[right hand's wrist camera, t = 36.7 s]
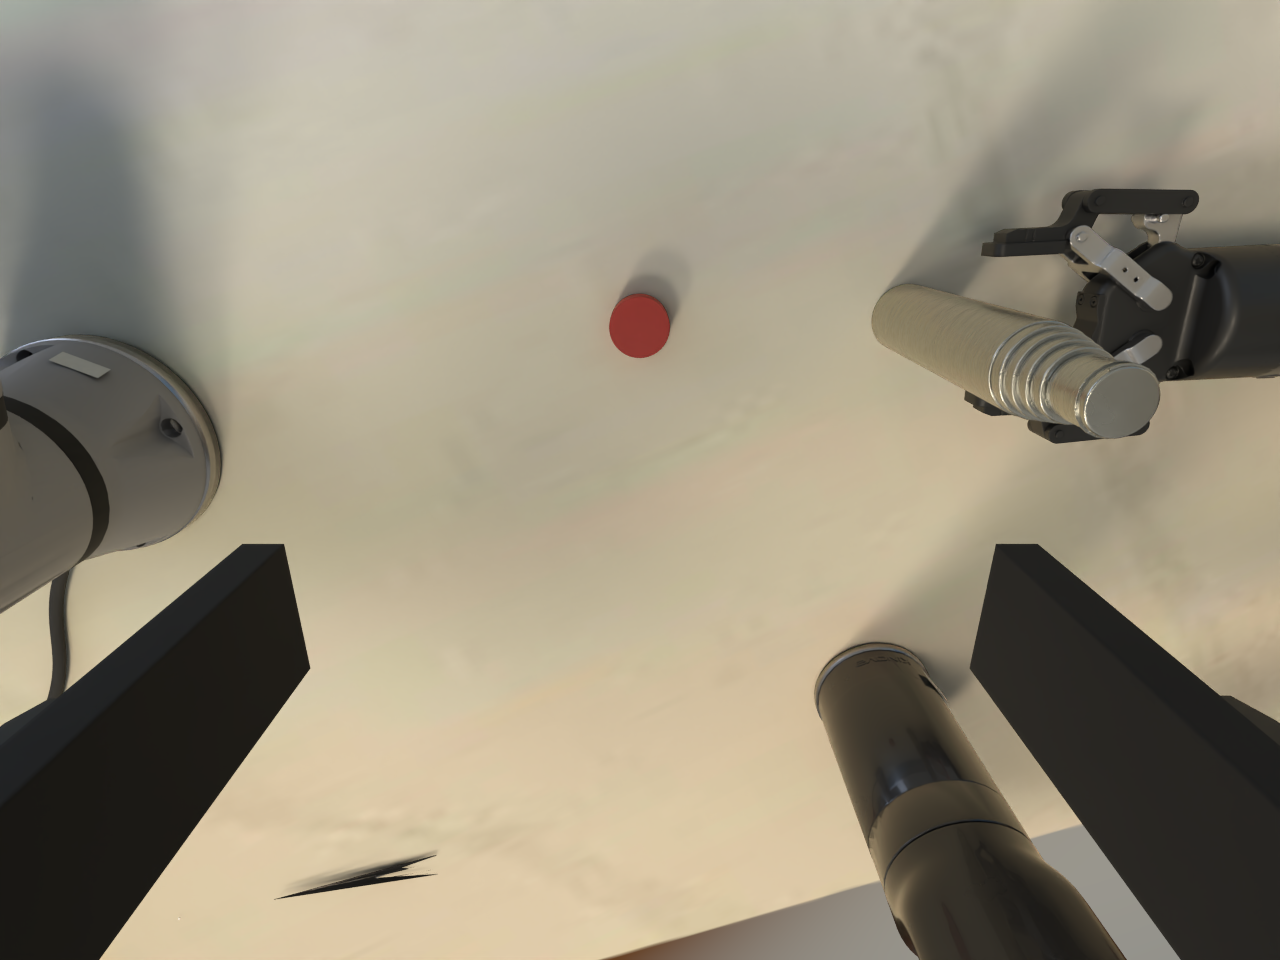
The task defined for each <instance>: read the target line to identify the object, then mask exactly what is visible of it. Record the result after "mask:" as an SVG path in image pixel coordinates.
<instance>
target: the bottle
mask: <svg viewBox="0 0 1280 960" xmlns="http://www.w3.org/2000/svg"><path fill="white" fill-rule="evenodd" d="M872 329H873V332H874V335H875V337H876V338H877V340H878V341H879V342H880V343H881V344H882V345H884V346H885V347H887V348H889V349H891V350H893V351H894V352H896V353H898V354H900V355H902V356H904V357H905V358H907V359H909V360H911V361H913V362H915V363H917V364H918V365H920V366H922V367H924V368H926V369H928V370H929V371H931V372H933V373H935V374H937V375H939V376H940V377H942V378H944V379H946V380H948V381H950V382H952V383H953V384H955V385H957V386H959V387H961V388H963V389H964V390H966V391H968V392H970V393H972V394H974V395H975V396H977V397H979V398H981V399H983V400H985V401H987V402H988V403H990V404H992V405H994V406H996V407H998V408H999V409H1001V410H1003V411H1005V412H1007V413H1009V414H1011V415H1014V416H1018V417H1021V418H1023V419H1027V420H1035V421H1041V422H1050V423H1057V424H1058V423H1060V424H1064V425H1076V426H1078V427H1080V428H1081V429H1082V430H1083V431H1084V432H1086V433H1088V434H1090V435H1092V436H1094V437H1096V438H1103V439H1115V438H1122V437H1125V436H1128V435H1131V434H1133V433H1135V432H1136V431H1138V430H1139V429H1141V428H1142V427H1143V426H1145V425H1146V424H1147V423H1148V422H1149V420H1150V419H1151V418H1152V416H1153V415H1154V413H1155V411H1156V409H1157V407H1158V404H1159V400H1160V388H1159V382H1158V380H1157V378H1156V375H1155V374H1154V373H1153V372H1152V371H1151V370H1150V369H1149V368H1147V367H1145V366H1143V365H1141V364H1136V363H1134V362H1130V361H1124V360H1120V361H1119V360H1115V358H1114V357H1113V356H1112V355H1111V354H1110V353H1108V352H1107V351H1105V350H1104V349H1103V348H1102V347H1101V346H1100V345H1098V344H1096V343H1095V342H1094V341H1093V340H1092V339H1090V338H1089V337H1087V336H1086V335H1085V334H1084V333H1082V332H1081V331H1079V330H1078V329H1076V328H1073V327H1071V326H1069V325H1067V324H1065V323H1062V322H1059V321H1055V320H1051V319H1047V318H1044V317H1040V316H1036V315H1032V314H1028V313H1024V312H1020V311H1016V310H1013V309H1009V308H1005V307H1001V306H997V305H993V304H989V303H985V302H982V301H978V300H974V299H970V298H966V297H962V296H958V295H954V294H951V293H947V292H943V291H939V290H935V289H931V288H927V287H923V286H920V285H915V284H903V285H899V286H896V287H894V288H892V289H891V290H889V291H888V292H886V293H885V294H884V295H883V296H882V297H881V298H880V300H879V301H878V303H877V304H876V306H875V308H874V311H873V315H872Z"/></svg>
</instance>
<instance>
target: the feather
mask: <svg viewBox="0 0 1280 960" xmlns="http://www.w3.org/2000/svg"><path fill="white" fill-rule="evenodd" d="M434 856H436V855H434ZM430 857H433V856H430ZM430 857H427V858H423V859H419V860H416V861H412V862H409V863H405V864H401V865H398V866H394V867H390V868H387V869H383V870H379V871H376V872H372V873H368V874H365V875H361V876H358V877H354V878H350V879H347V880H343V881H339V882H336V883H332V884H328V885H325V886H321V887H317V888H314V889H310V890H307V891H303V892H299V893H296V894H292V895H288V896H285V897H281V898H287V897H293V896H300V895H306V894H313V893H319V892H326V891H332V890H339V889H345V888H352V887H358V886H365V885H371V884H378V883H384V882H391V881H398V880H404V879H411V878H417V877H424V876H430V875H423V874H422V875H415V876H402V875H400V876H399V877H397V876H394V877H383V878H377V877H380V876H383V875H385V874H389V873H393V872H398V871H402V870H406V869H408V868H402V867H405V866H408V865H410V864H413V863H416V862H419V861H422V860H425V859H428V858H430ZM411 868H412V867H411ZM428 871H429V870H428ZM412 874H413V873H412ZM428 874H429V873H428ZM406 875H407V874H406ZM432 875H436V874H432ZM277 899H280V898H277ZM274 900H275V899H274ZM180 919H181V918H180V917H179V918H178V920H180Z"/></svg>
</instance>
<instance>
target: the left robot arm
mask: <svg viewBox="0 0 1280 960" xmlns="http://www.w3.org/2000/svg"><path fill="white" fill-rule="evenodd" d="M1198 202H1199V196H1198V194H1197V192H1195V191H1193V190H1152V189H1094V190H1091V191H1084V190H1079V191H1071V192H1069V193H1067V194H1066V195H1065V197H1064V198H1063V200H1062V209H1063V211H1062V213H1061V215H1060V217H1059V219H1058V220H1057V221H1056V222H1055V223H1054V224H1052V225H1051V226H1048V227H1036V228H1016V229H1003V230H1001V231H999V232H996V233H994V241H993V242H988V243H983V245H982V253H981V256H991V257H1008V256H1028V255H1047V254H1059V255H1061V256H1062V257H1063V258H1064V259H1065V260H1067V261H1068V266H1069V267H1070V268H1072V269H1073V270H1074V271H1075V272H1076V273H1077V274H1079V275H1080V276H1081V277H1082V278H1083V279H1084V280H1086V281H1087V282H1088V283H1087V285H1086V286H1085V288H1084V289H1083V292H1078V295H1077V301H1076V313H1077V319H1076V322H1075V324H1074V326H1073V328H1076V329H1078V330H1079V331H1081V332H1082V333H1084V334H1085V335H1086V336H1087V337H1089V338H1090V339H1092V340H1093V341H1094V342H1095V343H1096V344H1098V345H1100V346H1101V347H1102V348H1103V349H1104V350H1105V351H1107V352H1108V353H1110V354H1111V355H1112V356H1113V357H1114V358H1115V360H1119V361H1120V360H1124V361H1130V362H1134V363H1136V364H1141V365H1143V366H1145V367H1147V368H1149V369H1150V370H1151V371H1152V372H1153V373H1154V374H1155V375H1156V378H1157V380H1158V382H1162V381H1179V380H1200V379H1221V378H1240V377H1254V378H1275V377H1277V376H1280V244H1269V245H1247V246H1228V247H1208V248H1188V249H1186V248H1183V247H1181V246H1180V245H1178V244H1177V243H1175V240H1176V237H1177V233H1178V229H1179V226H1180V222H1181V218H1182V215H1183V214H1188V213H1190V212H1192V211H1193V210H1194V209H1195V208H1196V207H1197V205H1198ZM1098 214H1134V215H1133V216H1132V217H1131V221H1132V222H1133V224H1134V226H1135V227H1136V228H1137V229H1141V230H1144V231H1145V232H1146V233H1147V235H1148V242H1145V243H1143V244H1141V245H1139V246H1138V247H1136V248H1135V249H1133V250H1132V251H1130V252H1129V253H1128V254H1125V253H1124V252H1123V251H1122V250H1120V249H1118V248H1116V247H1113V246H1111V245H1110V244H1108V243H1107V242H1106V241H1105V240H1104V239H1103V238H1101V237H1100V236H1099V235H1098V234H1097V233H1096V232H1095V231H1093V230H1092V229H1091V228H1092V226H1093V224H1094V222H1095V220H1096V218H1097V216H1098ZM964 400H965V401H967V402H969V403H971V404H973V407H974V408H975V409H977V410H979V411H981V412H983V413H985V414H988V415H990V416H1000V415H1011V414H1009V413H1007V412H1005V411H1003V410H1001V409H999V408H998V407H996V406H994V405H992V404H990V403H988V402H987V401H985V400H983V399H981V398H979V397H977V396H975V395H974V394H972V393H970V392H968V391H966V390H965V398H964ZM1149 424H1150V423H1149V422H1148V423H1147V424H1146V425H1145V426H1143V427H1142V428H1141V429H1139V430H1138V431H1136V432H1135V433H1133V434H1131V435H1128V436H1135V435H1141V434H1143V433H1144V432H1146V430H1147V429H1148V427H1149ZM1028 429H1029V430H1030V431H1032V432H1034V433H1036V434H1037V435H1039V436H1041V437H1043V438H1045V439H1047V440H1049V441H1051V442H1052V443H1056V444H1057V443H1067V442H1077V441H1087V440H1096V439H1103V438H1096V437H1094V436H1092V435H1090V434H1088V433H1086V432H1084V431H1083V430H1082V429H1081V428H1080V427H1078V426H1076V425H1064V424H1060V423H1058V424H1057V423H1050V422H1041V421H1035V420H1029V421H1028ZM938 691H939V692H940V693H941V695H942V696H943V697H944V698H945V696H944V695H943V693H942V692H941V690H940V689H939V688H938V687H937V686H936V685H935V684H934V682H933V681H932V680H931V679H930V677H929V674H928V672H927V671H926V669H925V667H924V666H923V664H922V663H921V661H920V660H919V659H918V658H917V657H916V656H915V655H913V654H912V653H911V652H909V651H907V650H905V649H903V648H901V647H898V646H894V645H890V644H867V645H862V646H858V647H855V648H852V649H850V650H848V651H846V652H844V653H842V654H840V655H839V656H837V657H836V658H835V659H833V660H832V661H831V662H830V663H829V664H828V665H827V666H826V667H825V669H824V670H823V671H822V673H821V674H820V676H819V678H818V680H817V683H816V687H815V693H814V698H815V704H816V708H817V711H818V713H819V716H820V718H821V720H822V721H823V724H824V726H825V729H826V732H827V735H828V738H829V741H830V744H831V746H832V749H833V752H834V755H835V757H836V760H837V763H838V766H839V768H840V771H841V774H842V777H843V779H844V782H845V785H846V788H847V790H848V793H849V796H850V799H851V802H852V804H853V807H854V810H855V813H856V815H857V818H858V821H859V824H860V826H861V829H862V832H863V835H864V837H865V840H866V843H867V846H868V848H869V851H870V854H871V857H872V859H873V862H874V864H875V867H876V870H877V873H878V875H879V878H880V881H881V884H882V886H883V889H884V892H885V895H886V898H887V901H888V904H889V907H890V910H891V912H892V915H893V918H894V921H895V924H896V926H897V929H898V931H899V934H900V936H901V938H902V939H903V941H904V942H905V944H906V945H907V946H908V948H909V949H910V950H911V951H912V952H913V953H914V954H915V955H916V956H918V958H919V960H1127V959H1126V958H1125V957H1124V955H1123V954H1122V952H1121V951H1120V949H1119V948H1118V946H1117V945H1116V944H1115V942H1114V941H1113V939H1112V938H1111V937H1110V935H1109V934H1108V932H1107V931H1106V929H1105V928H1104V927H1103V925H1102V924H1101V922H1100V921H1099V919H1098V918H1097V917H1096V915H1095V914H1094V912H1093V911H1092V909H1091V908H1090V906H1089V905H1088V904H1087V902H1086V901H1085V900H1084V898H1083V897H1082V896H1081V895H1080V893H1079V892H1078V891H1077V890H1076V888H1075V887H1074V886H1073V885H1072V884H1071V883H1070V882H1069V881H1068V880H1067V879H1066V878H1065V877H1064V876H1063V875H1061V874H1060V873H1059V872H1058V871H1057V870H1055V869H1054V868H1052V867H1051V866H1050V865H1048V864H1047V863H1046V862H1045V861H1044V860H1043V858H1042V857H1041V855H1040V854H1039V852H1038V851H1037V849H1036V848H1035V846H1034V845H1033V843H1032V842H1031V840H1030V838H1029V837H1028V835H1027V833H1026V832H1025V830H1024V829H1023V827H1022V825H1021V824H1020V822H1019V821H1018V819H1017V817H1016V816H1015V814H1014V813H1013V811H1012V809H1011V808H1010V806H1009V805H1008V803H1007V802H1006V800H1005V799H1004V797H1003V795H1002V794H1001V792H1000V791H999V789H998V787H997V786H996V784H995V782H994V781H993V779H992V778H991V776H990V774H989V773H988V771H987V770H986V768H985V766H984V765H983V763H982V762H981V760H980V758H979V757H978V755H977V753H976V752H975V750H974V749H973V747H972V745H971V744H970V742H969V741H968V739H967V737H966V736H965V734H964V733H963V731H962V729H961V728H960V726H959V724H958V723H957V721H956V720H955V718H954V716H953V715H952V713H951V712H950V710H949V708H948V707H947V705H946V704H945V702H944V700H943V699H942V697H941V695H940V694H939V692H938ZM945 699H946V698H945ZM946 700H947V699H946ZM948 703H949V702H948Z"/></svg>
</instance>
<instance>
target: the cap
mask: <svg viewBox="0 0 1280 960" xmlns="http://www.w3.org/2000/svg"><path fill="white" fill-rule="evenodd" d="M609 330H610V336H611V339H612V341H613V343H614V344H615V346H616V347H617V348H618V349H619V350H620V351H621V352H622V353H624V354H626V355H628V356H631V357H635V358H644V357H649V356H651V355H653V354H655V353H657V352H658V351H659V350H660V349H661V348H662V347H663V346H664V345H665V343H666V341H667V339H668V336H669V332H670V323H669V318H668V315H667V312H666V310H665V308H664V306H663V305H662V304H661V303H660V302H659V301H658V300H657V299H655V298H654V297H652V296H649V295H646V294H633V295H630V296H627V297H625V298H624V299H622V300H621V301H620V302H619V303H618V304H617V305H616V307H615V308H614V310H613V312H612V315H611V319H610V324H609Z"/></svg>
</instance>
